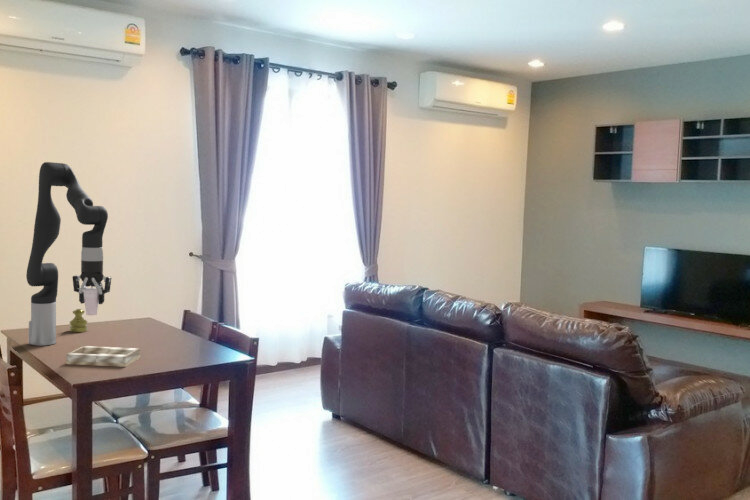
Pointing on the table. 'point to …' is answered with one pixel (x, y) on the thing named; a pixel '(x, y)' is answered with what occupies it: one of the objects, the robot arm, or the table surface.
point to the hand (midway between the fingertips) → (91, 303)
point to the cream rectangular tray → (103, 356)
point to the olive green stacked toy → (78, 322)
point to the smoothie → (91, 300)
